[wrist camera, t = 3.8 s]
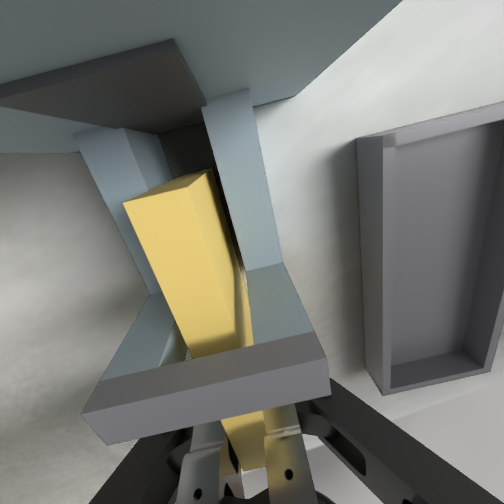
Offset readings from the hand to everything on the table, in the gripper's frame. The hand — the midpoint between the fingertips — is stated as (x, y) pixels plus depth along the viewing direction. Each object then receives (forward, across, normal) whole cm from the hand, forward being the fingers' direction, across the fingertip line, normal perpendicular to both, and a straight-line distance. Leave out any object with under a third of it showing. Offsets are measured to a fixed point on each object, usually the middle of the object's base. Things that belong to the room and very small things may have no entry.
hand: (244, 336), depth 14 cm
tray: (+1, -11, -2) cm, 11 cm away
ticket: (+1, 0, -4) cm, 4 cm away
